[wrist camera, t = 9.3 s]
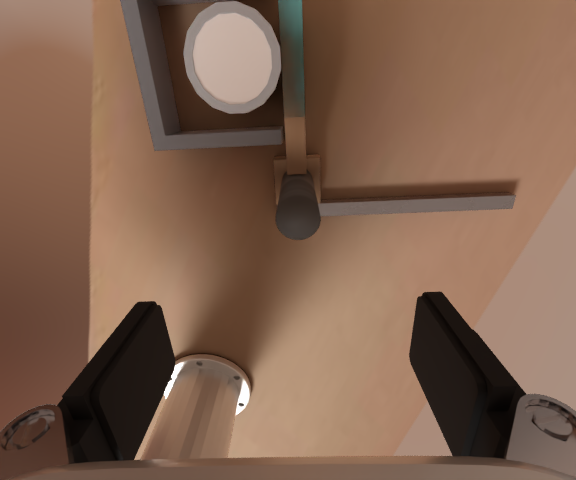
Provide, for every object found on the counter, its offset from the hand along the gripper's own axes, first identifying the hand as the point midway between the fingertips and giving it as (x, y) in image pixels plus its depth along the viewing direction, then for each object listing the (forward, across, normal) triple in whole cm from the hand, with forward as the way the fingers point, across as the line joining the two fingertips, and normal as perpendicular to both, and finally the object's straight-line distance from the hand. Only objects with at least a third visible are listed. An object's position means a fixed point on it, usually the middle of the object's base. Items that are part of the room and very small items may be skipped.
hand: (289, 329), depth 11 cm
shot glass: (+23, +4, -11) cm, 25 cm away
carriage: (+22, -1, -6) cm, 23 cm away
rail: (+22, -10, +2) cm, 25 cm away
